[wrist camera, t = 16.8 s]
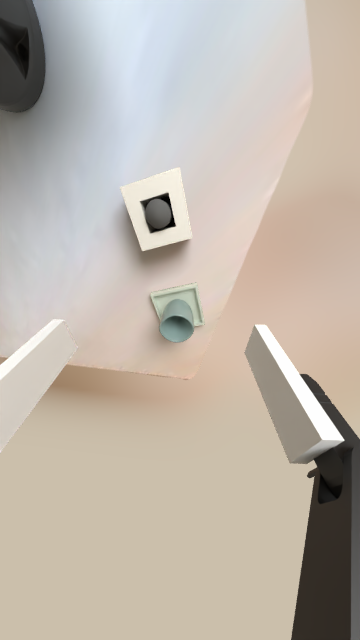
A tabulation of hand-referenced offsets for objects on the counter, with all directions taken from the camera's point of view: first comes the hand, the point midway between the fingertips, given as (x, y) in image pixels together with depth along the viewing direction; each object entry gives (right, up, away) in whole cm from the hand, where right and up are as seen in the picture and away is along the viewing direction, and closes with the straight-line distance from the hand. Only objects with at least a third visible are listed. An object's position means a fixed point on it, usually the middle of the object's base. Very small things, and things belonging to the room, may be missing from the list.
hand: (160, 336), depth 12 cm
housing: (-2, +23, +21) cm, 31 cm away
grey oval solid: (-2, +22, +21) cm, 30 cm away
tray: (+1, +5, +33) cm, 34 cm away
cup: (+1, +5, +33) cm, 33 cm away
